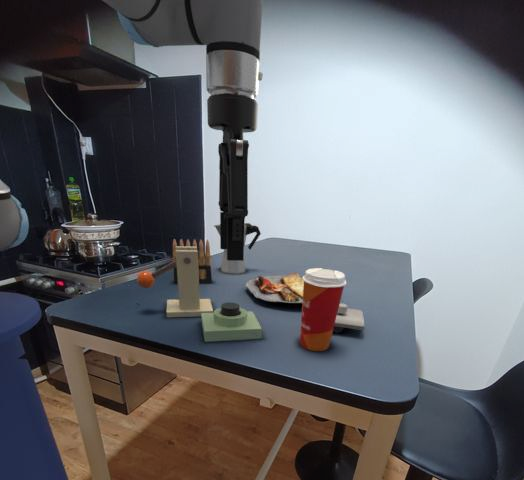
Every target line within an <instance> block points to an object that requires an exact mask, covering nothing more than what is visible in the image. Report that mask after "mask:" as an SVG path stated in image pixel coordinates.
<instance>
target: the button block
mask: <svg viewBox="0 0 524 480" xmlns="http://www.w3.org/2000/svg"><path fill="white" fill-rule="evenodd" d="M200 317H201V319H200V320H201V327H202V333H203V339H204V342H205V343H208V342H226V341H228V342H229V341H246V340H247V341H249V340H261V339H262V334H263V328H262V327H261V324H260V322H259V321H258V319H257V316H256V315H255V314H254V311H247V310H246V309H244V308H242V307H240V314H239V315H238V316H230V317H229V316H224V315H222V314H221V307H217V308H215V310H213V313H201V316H200Z"/></svg>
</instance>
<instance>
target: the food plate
mask: <svg viewBox="0 0 524 480" xmlns="http://www.w3.org/2000/svg"><path fill="white" fill-rule="evenodd" d="M302 278H303V276H300V275H299V273H298V272H294V273H291V274H288V275H283V274H282V275H281V274H280V275H275V274H273V275H263V276H262V275H257V277H253V278H250V279H249V280H248V281H246V282H245V284H244V286H245V287H246V288H247V290H248V291H249V292H250V293H251V294H253V296H254V297H255V298H256V299H259V300H263V301H266V302H274V303H280V304H290V305H291V304H292V305H295V304H296V305H297V304H302V302H303V287H304V281H303V279H302Z"/></svg>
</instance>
